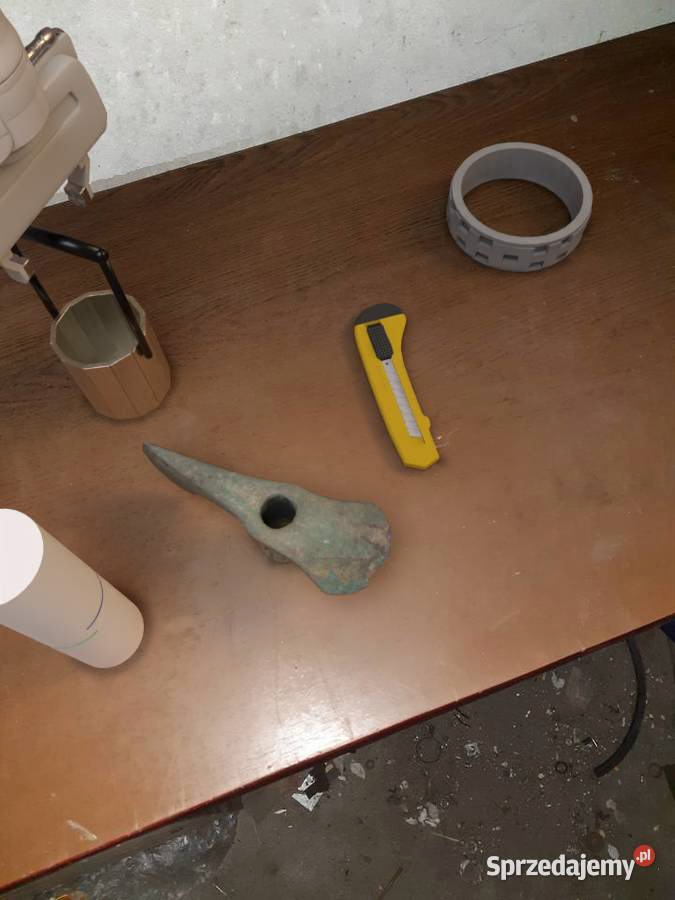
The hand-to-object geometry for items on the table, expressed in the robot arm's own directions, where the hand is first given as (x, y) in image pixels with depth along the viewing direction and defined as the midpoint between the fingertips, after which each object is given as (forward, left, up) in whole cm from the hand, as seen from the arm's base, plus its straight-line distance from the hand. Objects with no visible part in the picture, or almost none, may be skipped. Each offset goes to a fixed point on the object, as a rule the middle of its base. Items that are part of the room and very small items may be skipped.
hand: (54, 237), depth 62 cm
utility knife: (+30, +11, -24) cm, 40 cm away
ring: (+35, +41, -24) cm, 59 cm away
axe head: (+24, -12, -24) cm, 35 cm away
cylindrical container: (+13, -27, -24) cm, 38 cm away
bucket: (0, +4, -11) cm, 12 cm away
